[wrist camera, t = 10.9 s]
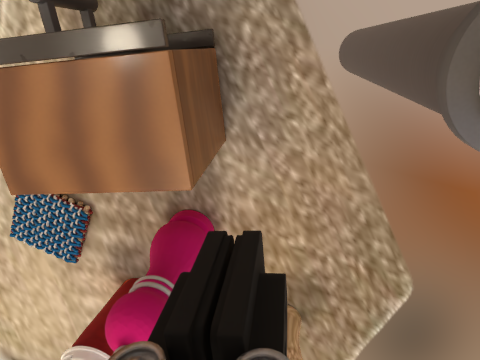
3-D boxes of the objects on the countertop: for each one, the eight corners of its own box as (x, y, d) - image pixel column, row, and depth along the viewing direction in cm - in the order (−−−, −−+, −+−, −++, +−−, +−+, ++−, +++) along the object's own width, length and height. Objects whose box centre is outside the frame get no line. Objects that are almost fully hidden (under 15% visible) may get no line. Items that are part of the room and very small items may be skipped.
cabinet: (213, 29, 33) (161, 18, 20) (225, 140, 37) (190, 192, 24) (73, 45, 35) (-54, 45, 22) (100, 147, 40) (8, 197, 27)
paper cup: (105, 284, 49) (39, 369, 36) (140, 264, 46) (83, 347, 33) (139, 319, 51) (88, 411, 38) (174, 301, 48) (132, 393, 35)
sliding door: (129, -1, 32) (38, -27, 21) (139, 49, 34) (61, 52, 22) (55, 9, 33) (-69, -9, 22) (68, 57, 35) (-40, 63, 24)
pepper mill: (174, 197, 41) (81, 318, 23) (226, 219, 41) (174, 357, 23) (159, 240, 44) (67, 377, 26) (208, 260, 44) (150, 411, 26)
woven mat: (24, 172, 43) (12, 177, 41) (97, 205, 43) (88, 212, 41) (15, 230, 47) (4, 238, 45) (81, 260, 48) (73, 269, 46)
